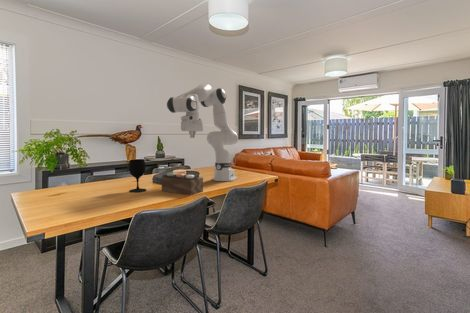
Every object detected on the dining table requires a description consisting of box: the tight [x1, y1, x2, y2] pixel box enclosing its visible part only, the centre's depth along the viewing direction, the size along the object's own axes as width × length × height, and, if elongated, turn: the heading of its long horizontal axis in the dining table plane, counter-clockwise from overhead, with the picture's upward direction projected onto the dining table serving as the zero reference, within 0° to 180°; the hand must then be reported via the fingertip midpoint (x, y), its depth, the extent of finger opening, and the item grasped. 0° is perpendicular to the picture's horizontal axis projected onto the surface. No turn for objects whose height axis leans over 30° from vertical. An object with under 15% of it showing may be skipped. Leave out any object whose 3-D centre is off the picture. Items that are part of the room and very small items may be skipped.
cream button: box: [185, 174, 195, 179], centre depth 162 cm, size 5×5×2 cm
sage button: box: [166, 172, 176, 176], centre depth 170 cm, size 5×5×2 cm
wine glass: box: [128, 158, 147, 194], centre depth 168 cm, size 10×10×20 cm
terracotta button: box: [175, 173, 185, 177], centre depth 166 cm, size 5×5×2 cm
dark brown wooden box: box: [161, 174, 204, 196], centre depth 168 cm, size 12×24×10 cm, turn 61°
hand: (192, 137), depth 182 cm, fingers closed
